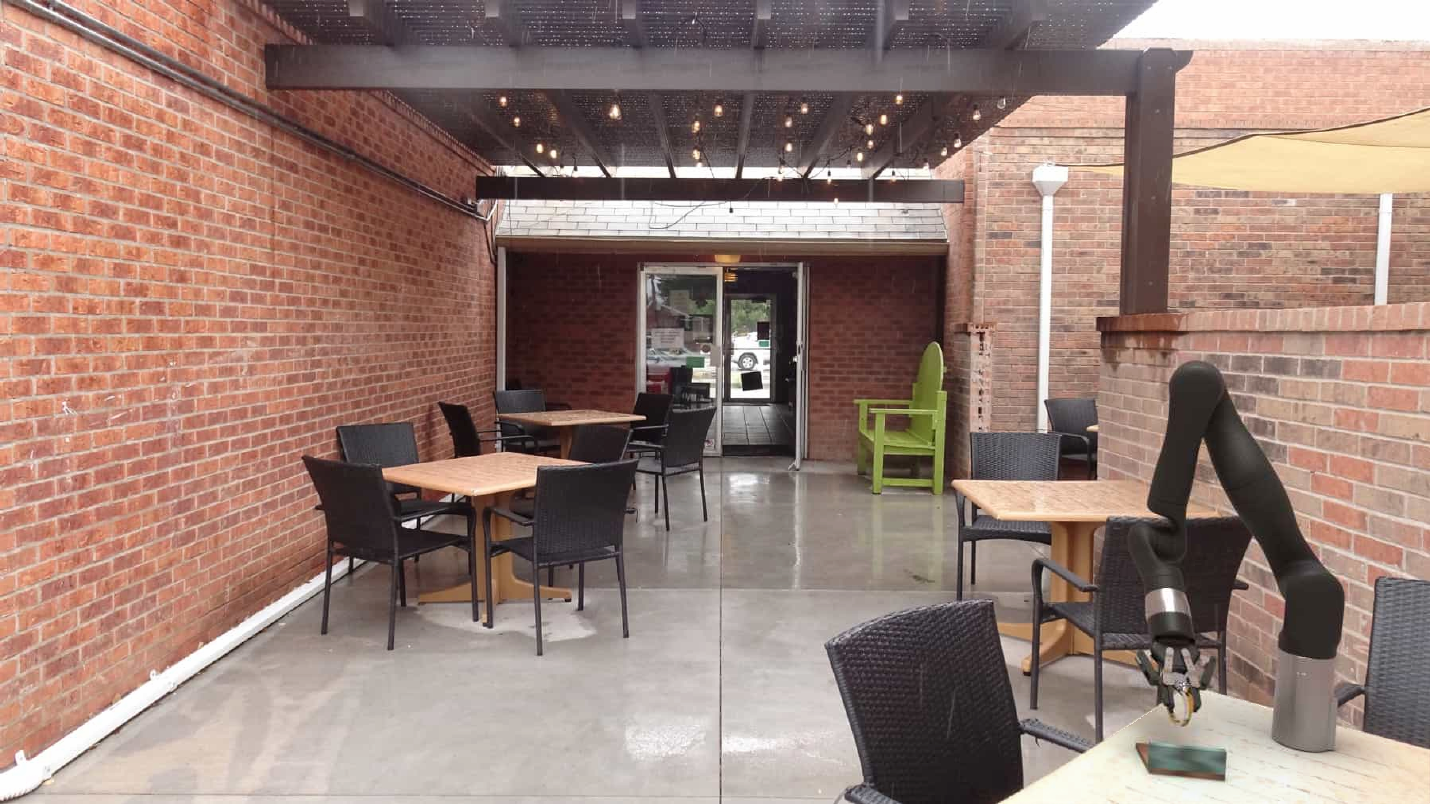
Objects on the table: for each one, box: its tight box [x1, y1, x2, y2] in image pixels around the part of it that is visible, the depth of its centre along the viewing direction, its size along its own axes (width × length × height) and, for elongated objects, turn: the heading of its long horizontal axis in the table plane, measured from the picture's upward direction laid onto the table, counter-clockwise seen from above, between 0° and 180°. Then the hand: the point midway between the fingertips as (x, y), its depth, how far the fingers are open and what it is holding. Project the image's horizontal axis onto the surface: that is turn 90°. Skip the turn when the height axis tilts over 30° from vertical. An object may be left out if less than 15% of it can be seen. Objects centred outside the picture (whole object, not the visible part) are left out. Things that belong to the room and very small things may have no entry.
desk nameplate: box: [1135, 741, 1228, 782], centre depth 168 cm, size 12×10×5 cm
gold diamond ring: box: [1166, 679, 1194, 727], centre depth 168 cm, size 7×3×8 cm, turn 179°
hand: (1183, 709), depth 166 cm, fingers closed on gold diamond ring, 3 cm apart
